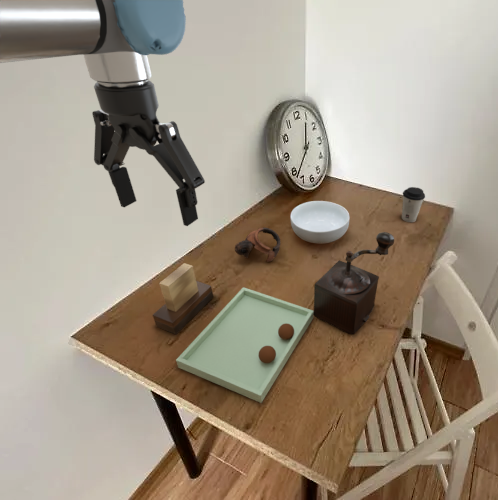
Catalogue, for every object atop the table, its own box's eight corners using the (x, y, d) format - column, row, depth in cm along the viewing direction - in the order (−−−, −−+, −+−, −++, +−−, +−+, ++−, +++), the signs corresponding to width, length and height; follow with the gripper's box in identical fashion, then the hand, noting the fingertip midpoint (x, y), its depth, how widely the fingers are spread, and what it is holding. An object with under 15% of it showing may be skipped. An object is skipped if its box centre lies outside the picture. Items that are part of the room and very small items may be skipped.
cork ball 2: (281, 330, 68) (272, 335, 70) (293, 340, 69) (284, 344, 71) (288, 318, 71) (279, 322, 73) (299, 328, 72) (290, 332, 73)
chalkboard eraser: (175, 334, 72) (164, 296, 65) (156, 326, 73) (142, 289, 67) (213, 297, 81) (206, 260, 74) (195, 290, 82) (187, 254, 76)
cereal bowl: (305, 215, 112) (305, 195, 108) (355, 228, 108) (357, 207, 104) (280, 243, 99) (279, 222, 95) (335, 258, 95) (337, 237, 91)
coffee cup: (406, 226, 111) (412, 197, 105) (393, 215, 116) (398, 187, 110) (424, 221, 114) (430, 193, 108) (410, 211, 119) (416, 184, 113)
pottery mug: (260, 240, 101) (272, 221, 96) (276, 266, 98) (290, 249, 93) (222, 247, 92) (234, 227, 87) (239, 277, 89) (252, 258, 84)
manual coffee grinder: (355, 337, 74) (365, 271, 63) (312, 315, 78) (313, 249, 67) (386, 295, 85) (399, 232, 74) (346, 277, 89) (353, 216, 78)
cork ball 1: (257, 351, 64) (253, 360, 66) (271, 362, 64) (267, 369, 66) (267, 339, 66) (262, 347, 69) (281, 348, 66) (276, 356, 68)
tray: (261, 403, 61) (260, 395, 60) (178, 367, 65) (175, 359, 64) (313, 318, 77) (313, 310, 76) (244, 294, 82) (243, 287, 81)
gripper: (215, 88, 49) (232, 219, 62) (81, 66, 56) (122, 188, 68) (176, 100, 43) (204, 241, 56) (33, 73, 50) (86, 205, 62)
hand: (159, 212), depth 62 cm, fingers open, 13 cm apart
